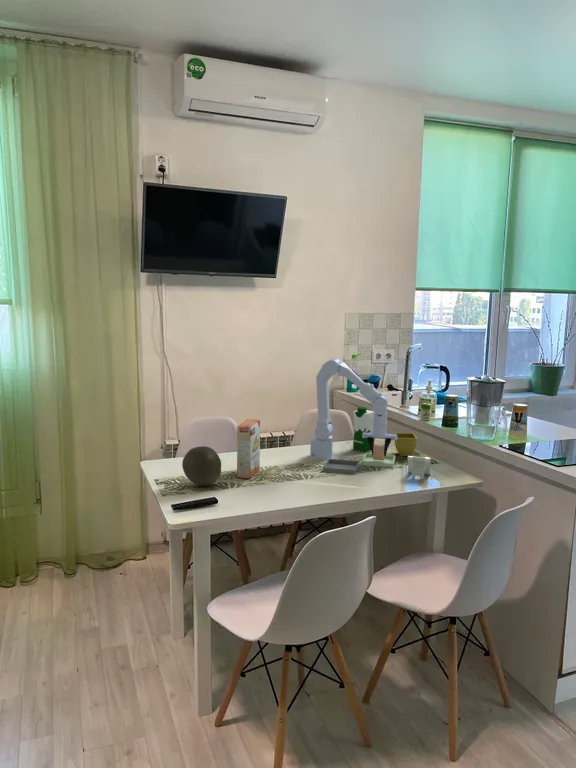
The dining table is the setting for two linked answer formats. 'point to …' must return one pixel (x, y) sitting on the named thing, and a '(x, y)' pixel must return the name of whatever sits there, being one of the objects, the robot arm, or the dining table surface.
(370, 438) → the robot arm
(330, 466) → the charcoal tray
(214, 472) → the dark olive ball
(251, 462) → the cracker box
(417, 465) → the portable electronic device stand
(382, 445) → the terracotta block
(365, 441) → the milk carton
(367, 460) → the green tray
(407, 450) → the flower pot
